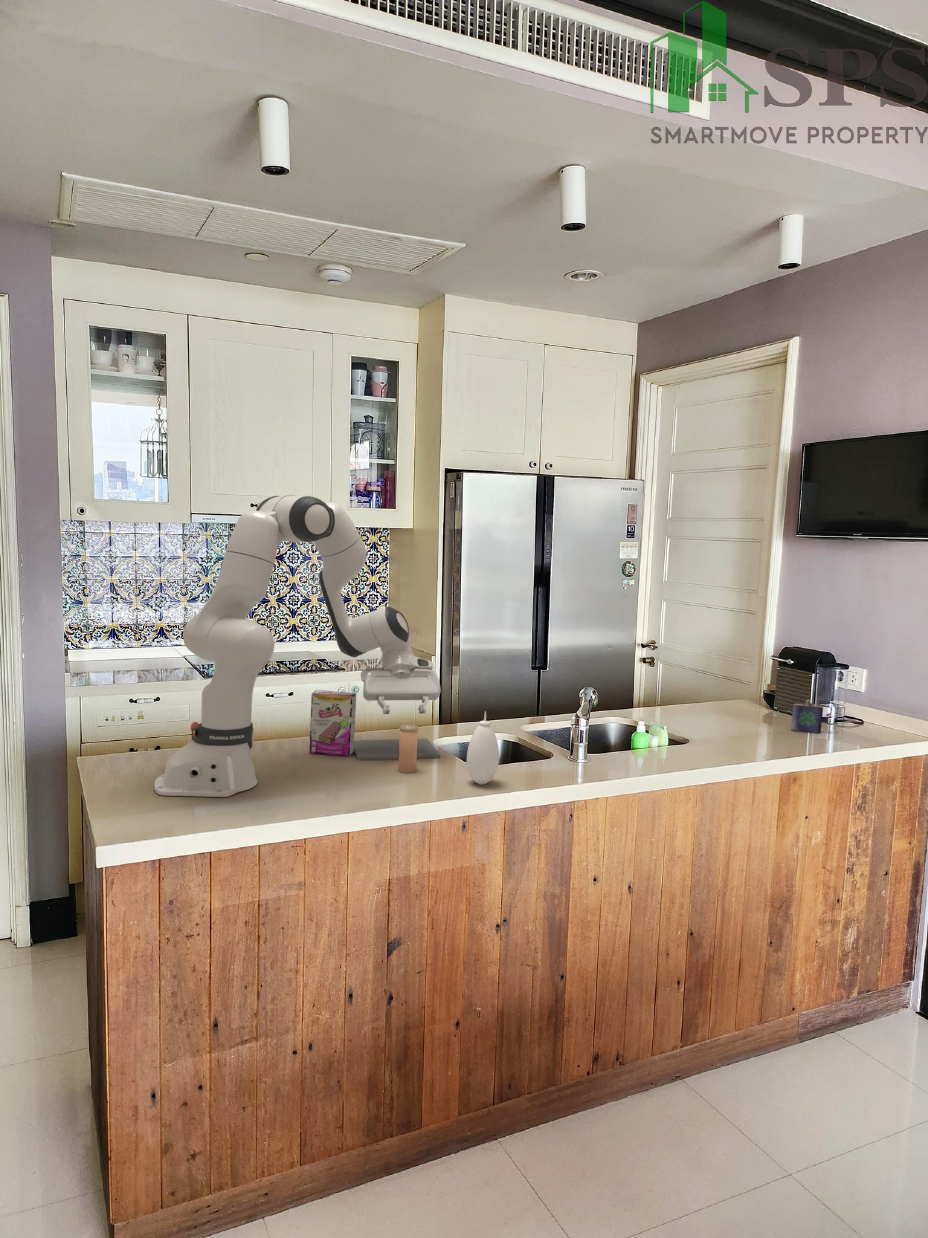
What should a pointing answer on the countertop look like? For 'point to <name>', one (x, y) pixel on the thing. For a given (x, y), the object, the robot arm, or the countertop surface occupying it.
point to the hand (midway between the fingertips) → (404, 712)
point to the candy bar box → (332, 723)
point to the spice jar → (408, 748)
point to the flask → (807, 718)
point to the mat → (390, 749)
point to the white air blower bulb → (483, 753)
